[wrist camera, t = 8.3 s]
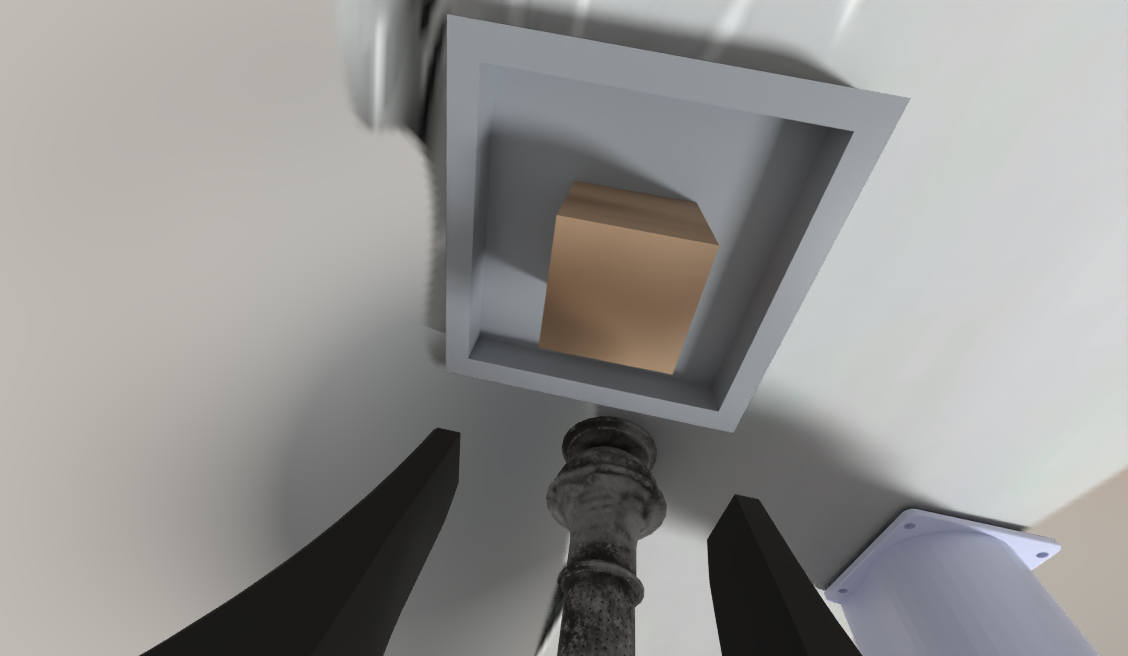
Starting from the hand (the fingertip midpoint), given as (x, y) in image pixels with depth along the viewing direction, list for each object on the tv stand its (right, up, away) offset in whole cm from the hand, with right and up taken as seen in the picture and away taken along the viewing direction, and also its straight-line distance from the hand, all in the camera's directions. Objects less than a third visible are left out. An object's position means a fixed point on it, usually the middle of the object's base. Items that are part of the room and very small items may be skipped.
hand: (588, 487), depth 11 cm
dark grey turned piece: (+2, -3, +13) cm, 13 cm away
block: (+2, +7, +5) cm, 9 cm away
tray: (+2, +8, +6) cm, 10 cm away
